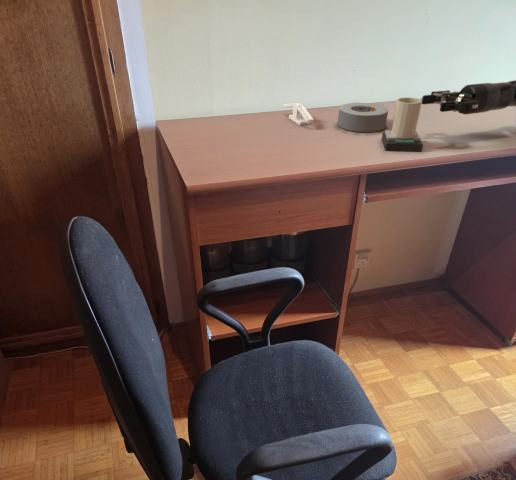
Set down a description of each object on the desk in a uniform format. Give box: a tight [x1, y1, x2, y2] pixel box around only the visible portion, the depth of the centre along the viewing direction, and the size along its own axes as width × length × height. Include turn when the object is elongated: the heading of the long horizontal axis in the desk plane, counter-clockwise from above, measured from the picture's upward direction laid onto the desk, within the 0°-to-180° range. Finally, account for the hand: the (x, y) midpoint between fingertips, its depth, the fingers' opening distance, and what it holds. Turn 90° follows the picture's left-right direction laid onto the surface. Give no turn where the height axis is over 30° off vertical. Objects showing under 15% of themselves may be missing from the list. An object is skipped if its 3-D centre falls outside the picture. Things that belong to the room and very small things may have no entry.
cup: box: [391, 97, 423, 139], centre depth 126 cm, size 7×7×9 cm
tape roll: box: [337, 102, 389, 133], centre depth 144 cm, size 15×15×5 cm
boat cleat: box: [282, 102, 315, 126], centre depth 148 cm, size 4×20×5 cm, turn 20°
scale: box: [381, 129, 424, 153], centre depth 129 cm, size 10×10×3 cm
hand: (431, 103), depth 125 cm, fingers open, 8 cm apart
